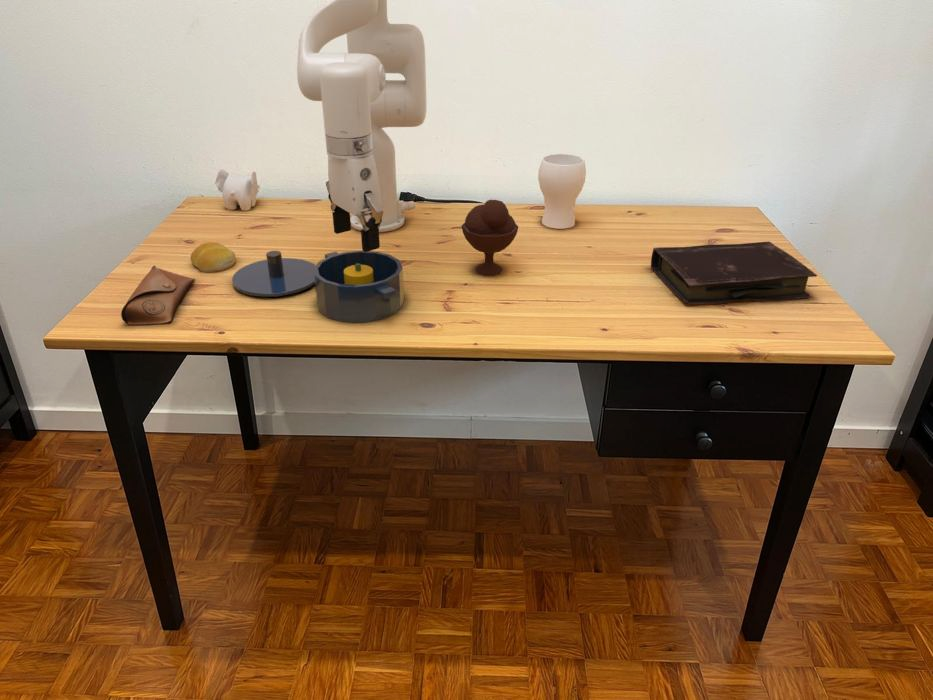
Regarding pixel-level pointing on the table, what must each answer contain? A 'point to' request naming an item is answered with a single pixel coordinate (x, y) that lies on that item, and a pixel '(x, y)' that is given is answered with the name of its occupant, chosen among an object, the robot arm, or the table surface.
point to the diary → (731, 273)
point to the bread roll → (212, 257)
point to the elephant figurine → (237, 189)
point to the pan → (359, 287)
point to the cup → (561, 188)
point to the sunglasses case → (156, 298)
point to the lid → (275, 276)
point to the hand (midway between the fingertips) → (356, 240)
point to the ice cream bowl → (489, 233)
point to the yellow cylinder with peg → (358, 274)
